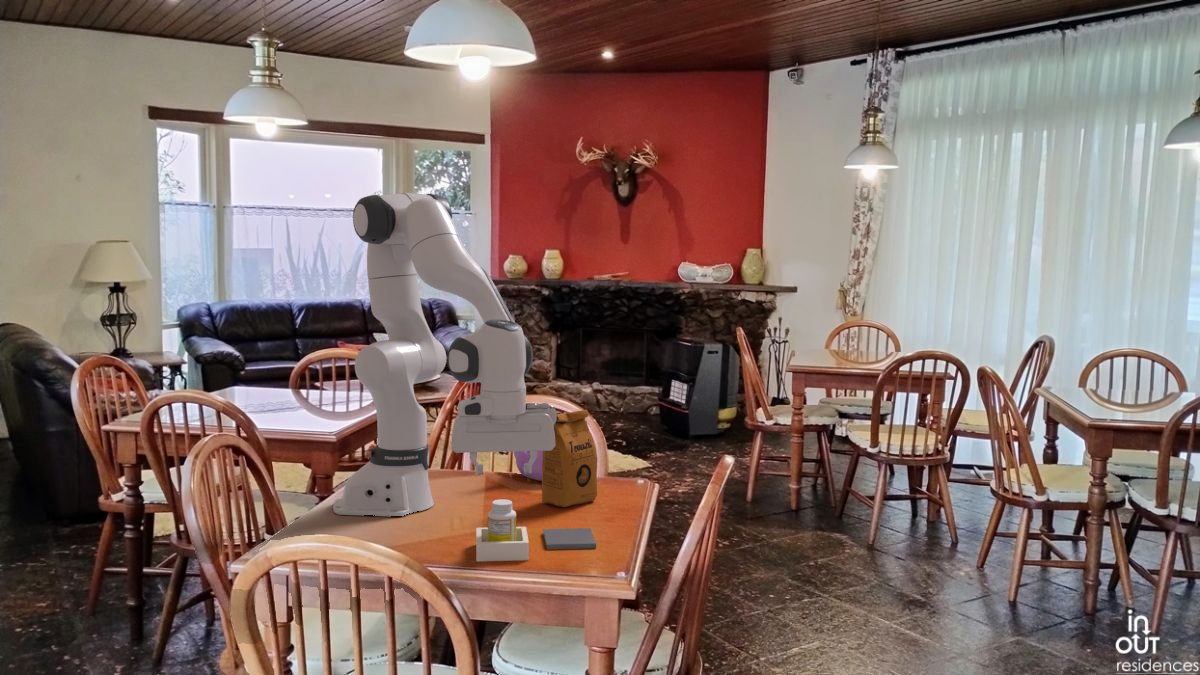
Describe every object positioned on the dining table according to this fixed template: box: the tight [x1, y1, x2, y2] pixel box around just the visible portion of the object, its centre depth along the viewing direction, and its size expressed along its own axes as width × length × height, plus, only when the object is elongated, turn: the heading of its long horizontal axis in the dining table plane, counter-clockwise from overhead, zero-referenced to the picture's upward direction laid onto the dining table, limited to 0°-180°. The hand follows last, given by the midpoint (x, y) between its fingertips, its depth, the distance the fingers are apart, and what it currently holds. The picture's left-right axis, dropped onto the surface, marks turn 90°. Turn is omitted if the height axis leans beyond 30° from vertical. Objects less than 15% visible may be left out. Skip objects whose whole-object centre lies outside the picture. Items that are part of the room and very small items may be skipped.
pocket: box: [475, 526, 530, 562], centre depth 178 cm, size 10×10×4 cm
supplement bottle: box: [487, 498, 517, 542], centre depth 178 cm, size 6×6×10 cm
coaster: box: [542, 527, 597, 550], centre depth 186 cm, size 10×10×1 cm
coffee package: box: [541, 409, 598, 508], centre depth 213 cm, size 10×12×22 cm
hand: (503, 473), depth 177 cm, fingers open, 8 cm apart
